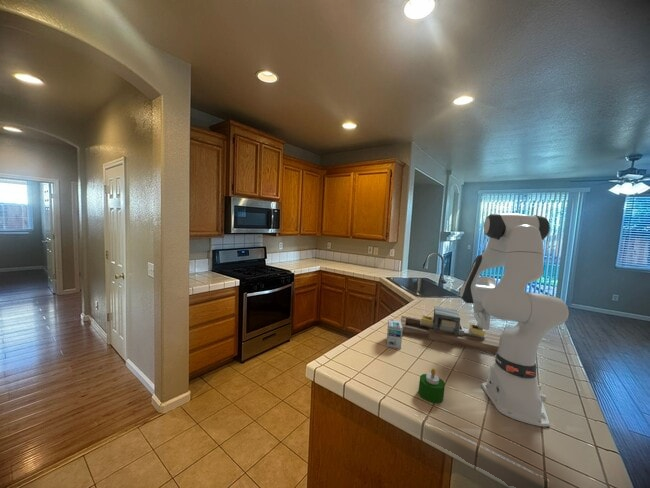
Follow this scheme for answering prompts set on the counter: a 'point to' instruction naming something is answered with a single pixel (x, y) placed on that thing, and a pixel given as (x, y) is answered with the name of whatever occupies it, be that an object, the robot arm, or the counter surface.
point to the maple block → (448, 323)
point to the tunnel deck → (413, 328)
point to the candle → (431, 387)
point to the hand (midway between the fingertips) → (479, 331)
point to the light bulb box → (394, 333)
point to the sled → (471, 331)
